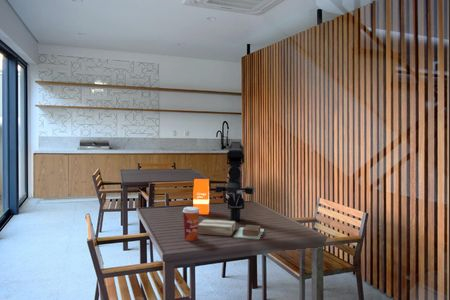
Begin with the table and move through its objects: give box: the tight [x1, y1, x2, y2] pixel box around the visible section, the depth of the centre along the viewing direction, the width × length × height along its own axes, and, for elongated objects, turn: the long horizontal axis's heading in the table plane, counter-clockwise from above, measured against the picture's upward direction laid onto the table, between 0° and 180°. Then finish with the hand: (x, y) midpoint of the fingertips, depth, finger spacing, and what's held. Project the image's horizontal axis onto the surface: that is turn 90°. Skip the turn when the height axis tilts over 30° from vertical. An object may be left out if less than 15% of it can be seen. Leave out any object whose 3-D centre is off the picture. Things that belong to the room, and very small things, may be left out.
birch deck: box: [198, 218, 237, 237], centre depth 178 cm, size 12×16×4 cm
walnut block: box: [243, 224, 261, 236], centre depth 173 cm, size 9×7×2 cm
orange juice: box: [192, 178, 210, 215], centre depth 216 cm, size 8×9×20 cm
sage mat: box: [233, 227, 265, 240], centre depth 174 cm, size 16×12×1 cm
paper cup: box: [182, 206, 200, 242], centre depth 165 cm, size 8×8×14 cm
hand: (234, 206), depth 179 cm, fingers closed
